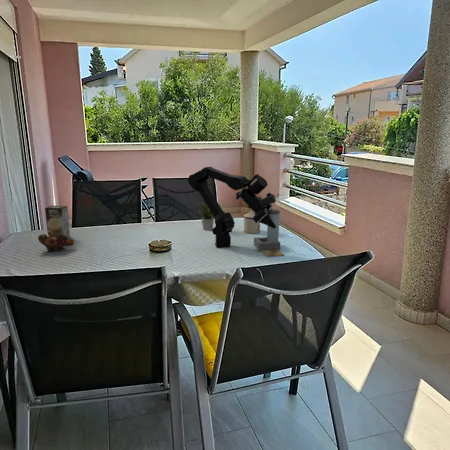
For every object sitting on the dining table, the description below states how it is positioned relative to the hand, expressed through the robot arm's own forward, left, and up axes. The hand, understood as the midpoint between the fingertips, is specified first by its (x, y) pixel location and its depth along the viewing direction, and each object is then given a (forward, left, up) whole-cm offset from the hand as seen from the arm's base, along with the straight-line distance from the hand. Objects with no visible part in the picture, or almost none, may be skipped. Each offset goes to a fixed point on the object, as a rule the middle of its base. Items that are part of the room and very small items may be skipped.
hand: (276, 226), depth 171 cm
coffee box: (-101, +46, -13) cm, 112 cm away
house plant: (-25, +49, -13) cm, 57 cm away
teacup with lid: (-1, +40, -13) cm, 42 cm away
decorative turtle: (-97, +24, -13) cm, 101 cm away
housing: (-1, +10, -12) cm, 16 cm away
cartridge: (-1, +1, -7) cm, 7 cm away
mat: (-1, 0, -12) cm, 13 cm away
